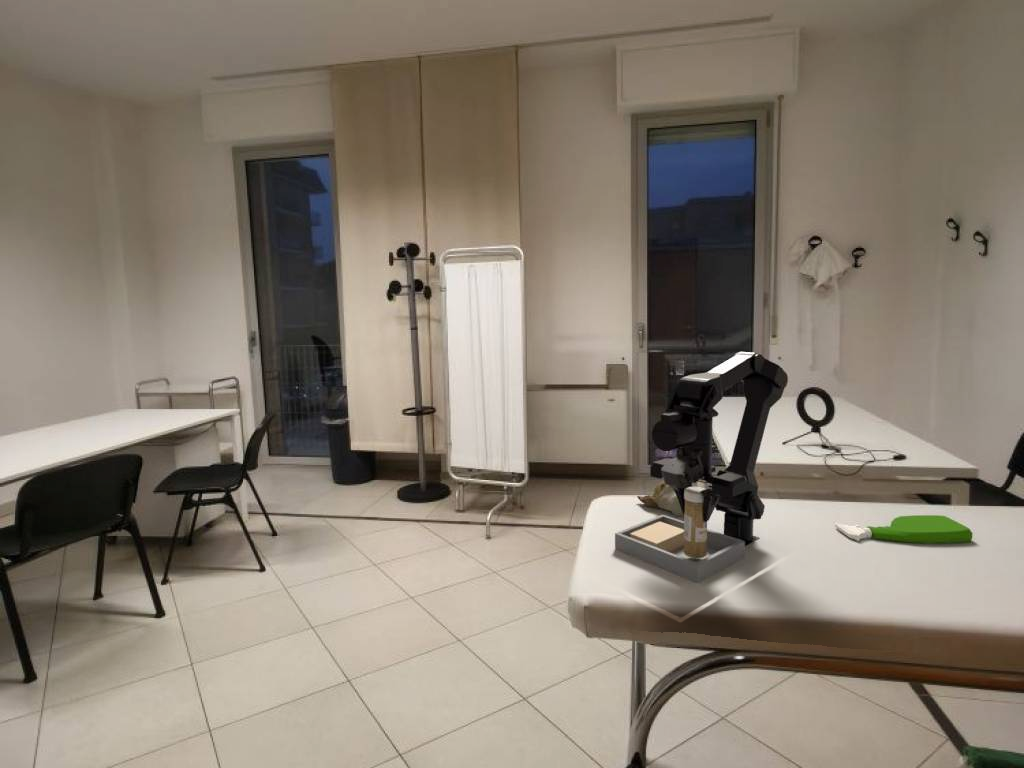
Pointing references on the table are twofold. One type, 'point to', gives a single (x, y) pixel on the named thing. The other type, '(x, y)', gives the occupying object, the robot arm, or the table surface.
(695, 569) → the tote
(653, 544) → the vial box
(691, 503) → the sprinkles bottle
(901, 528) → the spray bottle
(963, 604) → the table surface
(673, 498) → the ceramic sculpture
